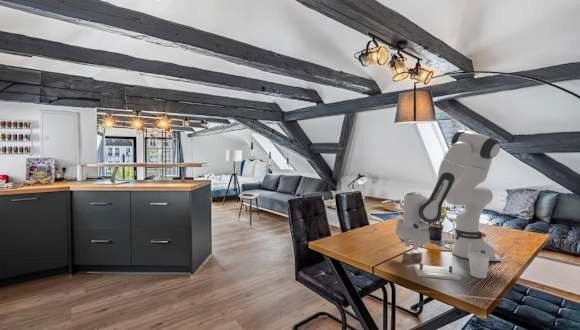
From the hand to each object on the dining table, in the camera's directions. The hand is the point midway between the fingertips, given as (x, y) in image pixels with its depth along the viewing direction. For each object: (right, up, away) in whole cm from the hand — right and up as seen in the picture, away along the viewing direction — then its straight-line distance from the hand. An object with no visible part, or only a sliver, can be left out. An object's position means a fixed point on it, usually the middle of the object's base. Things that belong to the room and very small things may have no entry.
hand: (411, 247), depth 156 cm
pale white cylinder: (+24, -8, -19) cm, 31 cm away
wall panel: (+5, -8, -16) cm, 19 cm away
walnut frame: (0, -7, 0) cm, 7 cm away
